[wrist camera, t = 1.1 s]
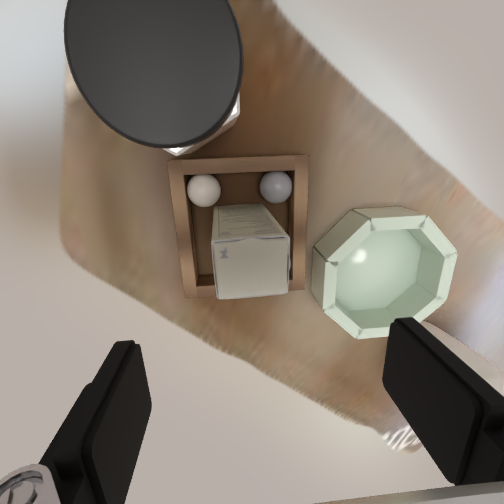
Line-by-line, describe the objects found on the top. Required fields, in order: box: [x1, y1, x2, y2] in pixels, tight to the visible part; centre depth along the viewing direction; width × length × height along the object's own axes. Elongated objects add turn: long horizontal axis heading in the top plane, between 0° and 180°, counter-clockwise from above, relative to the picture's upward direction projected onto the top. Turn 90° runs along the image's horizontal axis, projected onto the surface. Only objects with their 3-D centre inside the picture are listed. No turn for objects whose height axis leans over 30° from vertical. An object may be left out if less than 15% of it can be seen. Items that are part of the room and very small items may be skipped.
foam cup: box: [420, 321, 504, 396], centre depth 30 cm, size 10×9×13 cm
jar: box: [64, 0, 244, 156], centre depth 19 cm, size 9×8×12 cm
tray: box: [167, 154, 309, 298], centre depth 27 cm, size 13×12×2 cm
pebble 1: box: [187, 174, 221, 207], centre depth 26 cm, size 3×3×3 cm
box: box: [211, 204, 290, 299], centre depth 23 cm, size 5×4×11 cm
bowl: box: [311, 206, 458, 339], centre depth 30 cm, size 13×13×4 cm
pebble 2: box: [260, 171, 292, 203], centre depth 26 cm, size 3×3×3 cm
